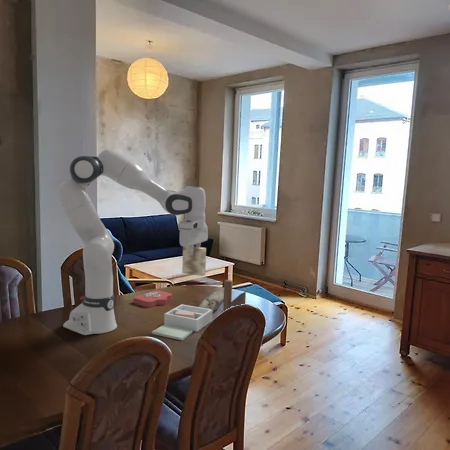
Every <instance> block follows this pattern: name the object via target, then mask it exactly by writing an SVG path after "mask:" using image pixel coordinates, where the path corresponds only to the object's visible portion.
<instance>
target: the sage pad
mask: <svg viewBox="0 0 450 450" xmlns="http://www.w3.org/2000/svg"><path fill="white" fill-rule="evenodd" d="M193 332H194V331H193V330H188V329H183V328H178V327H174V326H169V325H164V324H163V325H161V326H159V327H157V328H156V329H154V330H152V331H151V334H152V335H156V336H161V337H165V338H170V339H174V340H179V341H183V340H185V339H186V338H187V337H188V336H190V335H192V334H193Z"/></svg>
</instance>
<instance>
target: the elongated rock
mask: <svg viewBox="0 0 450 450" xmlns="http://www.w3.org/2000/svg"><path fill="white" fill-rule="evenodd" d="M223 302H224V290H217V291H214V292H212V293H211V294H210V295H209V296H207V297H206V298H205V299H202V301H200V303H199V304H198V306H197V307H200V308H205V309H211V310H213V313H214V312H215V311H216V310H217V311H218V308H219V307H220V305H221V304H223Z"/></svg>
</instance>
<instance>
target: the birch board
mask: <svg viewBox="0 0 450 450" xmlns="http://www.w3.org/2000/svg"><path fill="white" fill-rule="evenodd" d="M193 250H195V251H194V254H193V255H190V254H189V248H188V247H186V246H182V269H181V271H182V272H181V274H186V275H187V274H188V275H194V276H200V277H203V276H205V275H206V266H207V265H206V262H207V261H206V260H207V247H203V246H202V247H201V246H200V247H195V246H194V247H193Z"/></svg>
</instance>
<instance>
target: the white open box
mask: <svg viewBox="0 0 450 450" xmlns="http://www.w3.org/2000/svg"><path fill="white" fill-rule="evenodd" d="M177 311H187V312H195V319H193V318H188V317H183V316H178V315H175V313H176V312H177ZM213 313H214V312H213V310H211V309H205V308H200V307H198V306H193V305H188V304H179V305H178V306H176V307H174V308H172V309H170V310H169V311H167V312H164V324H163V325H169V326H174V327H178V328H183V329H188V330H193V332H198V331H200V330H202V328H204V327H205V326H207V325H208V324H209V323H211V322H212V321H213V315H214V314H213Z"/></svg>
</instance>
